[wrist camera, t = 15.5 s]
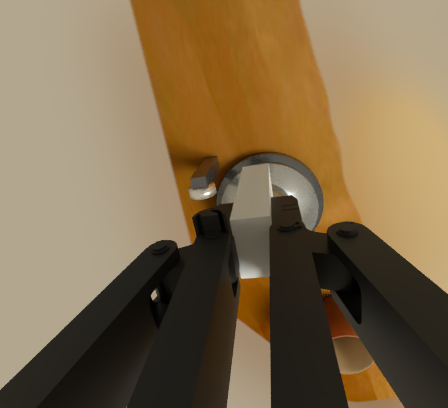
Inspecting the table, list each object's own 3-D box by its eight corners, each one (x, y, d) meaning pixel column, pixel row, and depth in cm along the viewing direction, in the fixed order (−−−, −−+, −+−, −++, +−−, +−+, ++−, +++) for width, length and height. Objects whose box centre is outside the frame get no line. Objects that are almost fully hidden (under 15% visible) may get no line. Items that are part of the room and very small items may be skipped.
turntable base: (208, 160, 47) (206, 163, 46) (318, 144, 44) (320, 146, 42) (227, 250, 54) (226, 255, 52) (324, 242, 50) (326, 246, 49)
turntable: (203, 205, 48) (198, 215, 45) (271, 140, 43) (271, 146, 39) (285, 280, 52) (286, 294, 49) (357, 230, 47) (364, 243, 43)
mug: (343, 282, 53) (360, 327, 44) (366, 315, 55) (386, 364, 46) (286, 308, 57) (290, 354, 48) (309, 337, 60) (317, 386, 50)
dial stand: (200, 158, 47) (182, 181, 37) (221, 155, 46) (210, 177, 37) (203, 175, 48) (187, 201, 38) (225, 172, 48) (214, 198, 38)
